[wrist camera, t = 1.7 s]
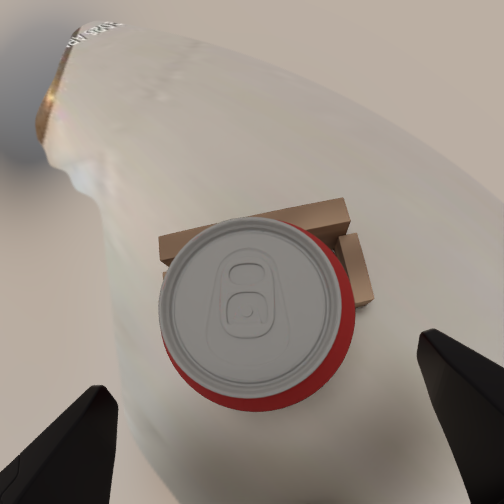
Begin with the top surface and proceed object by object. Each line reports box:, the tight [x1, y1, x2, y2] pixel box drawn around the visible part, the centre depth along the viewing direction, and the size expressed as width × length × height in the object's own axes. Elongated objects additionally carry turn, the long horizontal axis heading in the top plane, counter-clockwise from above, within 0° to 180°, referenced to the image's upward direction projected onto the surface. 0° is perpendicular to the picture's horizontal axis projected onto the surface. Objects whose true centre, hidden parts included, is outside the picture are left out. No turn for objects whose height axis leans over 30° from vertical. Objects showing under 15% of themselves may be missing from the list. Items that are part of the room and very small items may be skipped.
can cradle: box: [159, 198, 374, 308], centre depth 19 cm, size 6×12×4 cm, turn 99°
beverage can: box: [159, 217, 355, 412], centre depth 14 cm, size 7×7×12 cm
